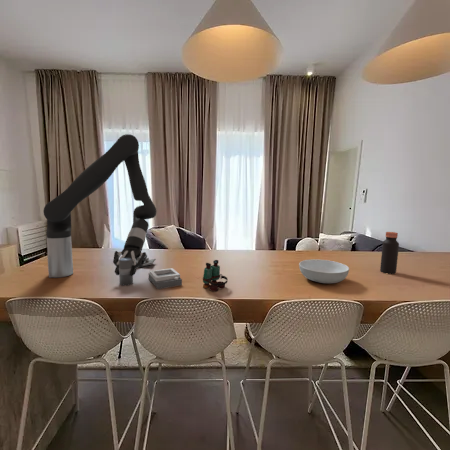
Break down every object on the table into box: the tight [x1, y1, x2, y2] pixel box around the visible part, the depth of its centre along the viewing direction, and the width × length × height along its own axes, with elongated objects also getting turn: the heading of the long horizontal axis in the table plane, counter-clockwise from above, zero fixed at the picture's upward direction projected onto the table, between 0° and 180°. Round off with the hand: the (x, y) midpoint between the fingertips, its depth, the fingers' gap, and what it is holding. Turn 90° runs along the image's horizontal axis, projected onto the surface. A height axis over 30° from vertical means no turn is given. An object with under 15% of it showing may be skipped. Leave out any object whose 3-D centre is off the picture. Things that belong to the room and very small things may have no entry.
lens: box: [118, 257, 134, 286], centre depth 111 cm, size 6×6×10 cm
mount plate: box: [148, 267, 183, 290], centre depth 114 cm, size 10×14×4 cm
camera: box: [132, 256, 156, 267], centre depth 137 cm, size 9×12×15 cm
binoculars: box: [202, 259, 229, 292], centre depth 107 cm, size 9×11×10 cm
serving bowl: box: [298, 258, 350, 284], centre depth 120 cm, size 21×21×7 cm
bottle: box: [379, 231, 400, 275], centre depth 132 cm, size 7×7×20 cm
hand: (124, 274), depth 109 cm, fingers closed on lens, 5 cm apart
